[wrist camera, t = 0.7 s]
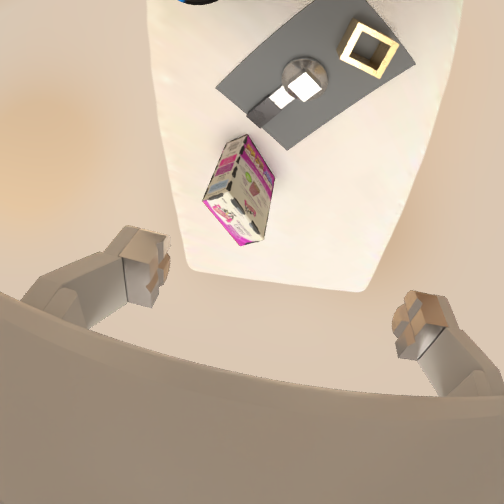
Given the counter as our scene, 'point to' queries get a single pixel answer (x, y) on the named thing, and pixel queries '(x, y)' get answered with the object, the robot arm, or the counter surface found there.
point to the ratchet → (292, 89)
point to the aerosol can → (198, 2)
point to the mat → (324, 51)
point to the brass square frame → (378, 58)
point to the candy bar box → (241, 191)
